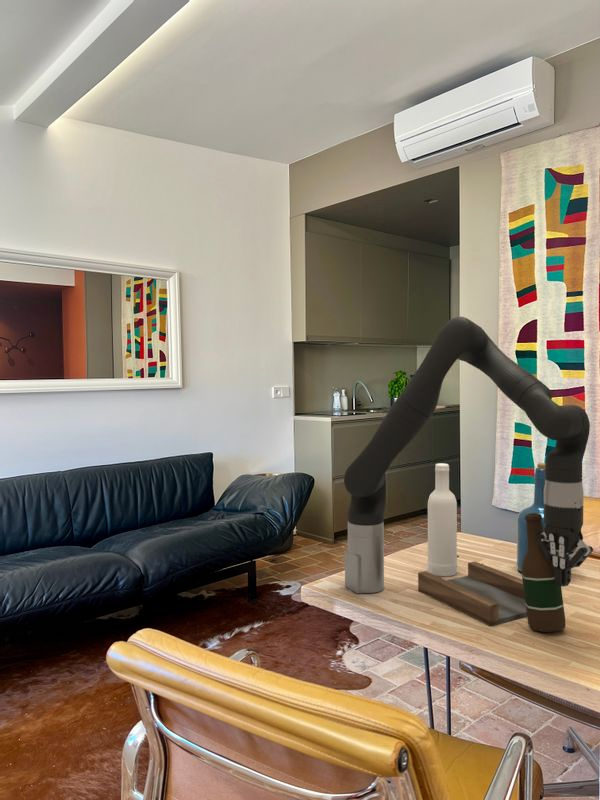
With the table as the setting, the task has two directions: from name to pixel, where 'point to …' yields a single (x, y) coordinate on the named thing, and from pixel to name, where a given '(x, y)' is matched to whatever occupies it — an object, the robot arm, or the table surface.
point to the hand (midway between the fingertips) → (562, 584)
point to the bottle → (442, 526)
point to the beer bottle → (540, 583)
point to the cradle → (479, 593)
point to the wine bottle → (535, 508)
